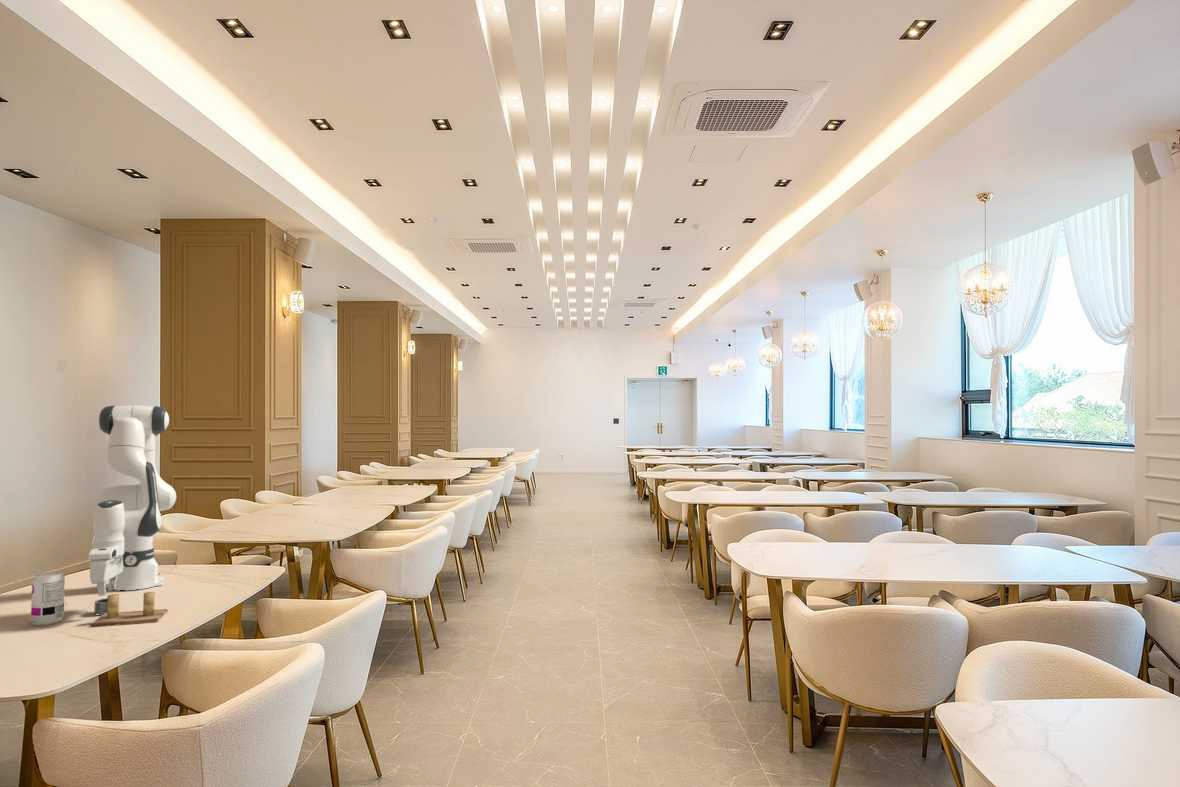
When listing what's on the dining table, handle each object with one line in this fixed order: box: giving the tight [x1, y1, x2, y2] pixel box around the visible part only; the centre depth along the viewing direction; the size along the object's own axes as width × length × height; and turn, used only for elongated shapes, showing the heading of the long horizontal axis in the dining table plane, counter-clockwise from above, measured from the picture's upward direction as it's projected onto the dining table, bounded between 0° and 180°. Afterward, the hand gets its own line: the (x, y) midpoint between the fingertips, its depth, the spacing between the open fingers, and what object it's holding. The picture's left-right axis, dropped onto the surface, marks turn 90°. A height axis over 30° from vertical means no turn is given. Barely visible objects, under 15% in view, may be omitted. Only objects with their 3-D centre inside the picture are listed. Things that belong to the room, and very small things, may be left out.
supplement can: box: [30, 571, 66, 626], centre depth 222 cm, size 8×8×15 cm
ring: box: [93, 597, 108, 616], centre depth 233 cm, size 6×6×4 cm
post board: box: [90, 591, 168, 628], centre depth 226 cm, size 12×18×8 cm, turn 108°
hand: (107, 592), depth 232 cm, fingers open, 8 cm apart
